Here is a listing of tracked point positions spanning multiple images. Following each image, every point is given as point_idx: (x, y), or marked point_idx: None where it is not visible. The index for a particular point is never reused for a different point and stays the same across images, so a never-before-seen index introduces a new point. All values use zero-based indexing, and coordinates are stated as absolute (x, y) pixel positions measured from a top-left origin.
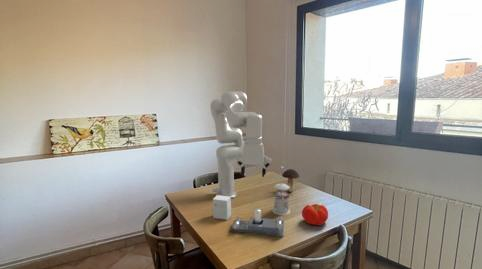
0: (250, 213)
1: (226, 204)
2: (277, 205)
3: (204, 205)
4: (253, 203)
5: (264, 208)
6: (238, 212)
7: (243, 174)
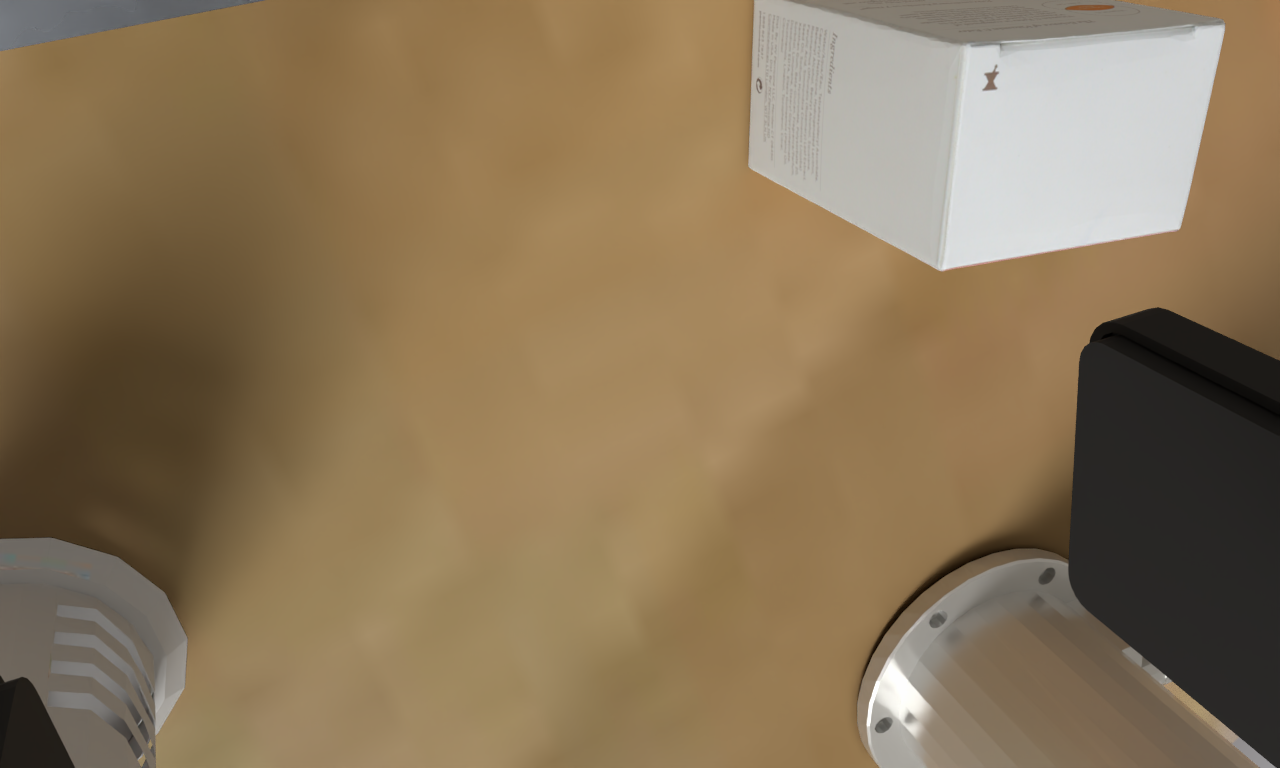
0: (483, 359)
1: (923, 28)
2: (28, 662)
3: (1163, 284)
4: (559, 658)
5: (334, 608)
6: (673, 305)
7: (1125, 344)
